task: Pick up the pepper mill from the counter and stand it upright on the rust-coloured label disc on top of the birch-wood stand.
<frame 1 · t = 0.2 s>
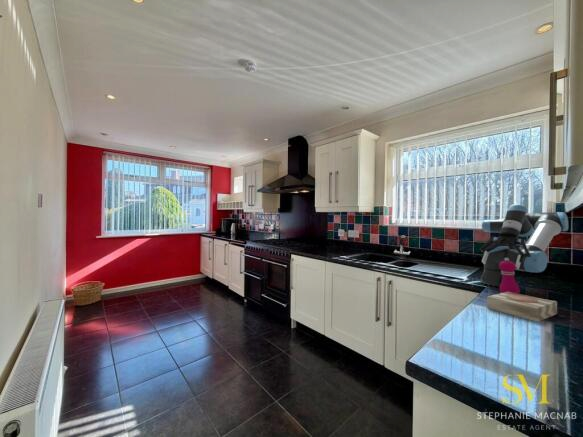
hand: (499, 265, 122), 16 cm above the counter, tool tilted 35°, fingers open, 13 cm apart
birch stand: (521, 310, 101), on the counter
pepper mill: (510, 299, 116), on the counter, touching gripper
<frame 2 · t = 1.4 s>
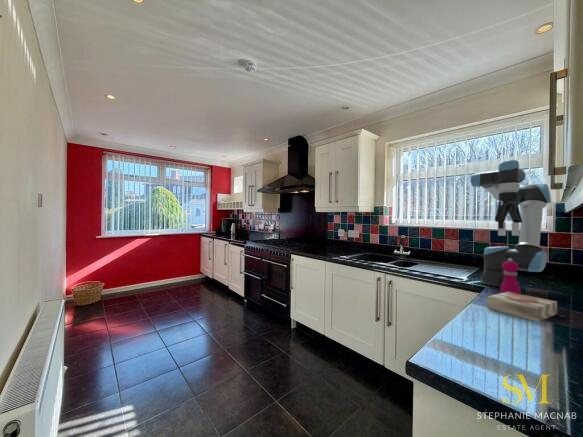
hand: (508, 235, 118), 31 cm above the counter, tool pointing down, fingers open, 13 cm apart
pepper mill: (510, 300, 116), on the counter
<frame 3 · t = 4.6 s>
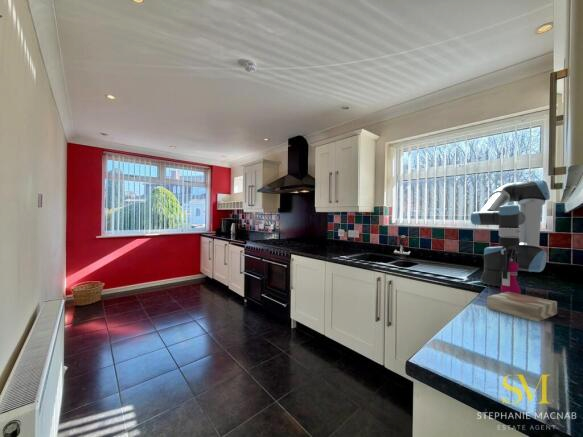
hand: (509, 284, 117), 7 cm above the counter, tool pointing down, fingers closed on pepper mill, 6 cm apart
pepper mill: (510, 300, 116), on the counter, touching gripper
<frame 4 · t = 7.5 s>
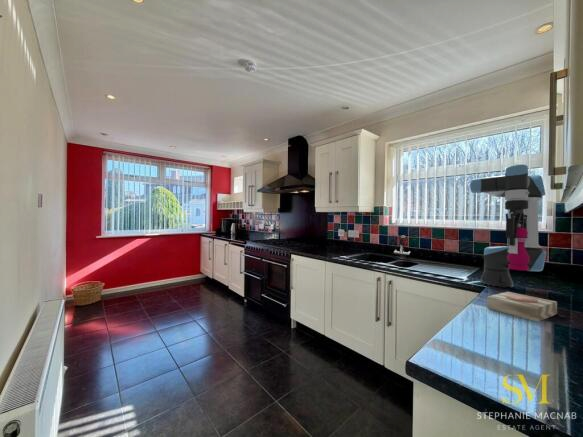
hand: (516, 253, 105), 24 cm above the counter, tool pointing down, fingers closed on pepper mill, 6 cm apart
pepper mill: (518, 269, 105), point 17 cm above the counter, touching gripper
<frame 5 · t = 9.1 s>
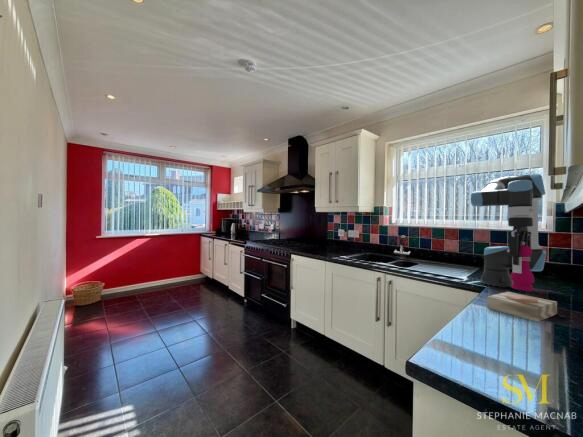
hand: (520, 272, 101), 16 cm above the counter, tool pointing down, fingers closed on pepper mill, 6 cm apart
pepper mill: (522, 289, 101), point 9 cm above the counter, touching gripper
when the fingers open (13 cm above the counter, at t = 10.4 s): pepper mill stays where it is, resting on birch stand.
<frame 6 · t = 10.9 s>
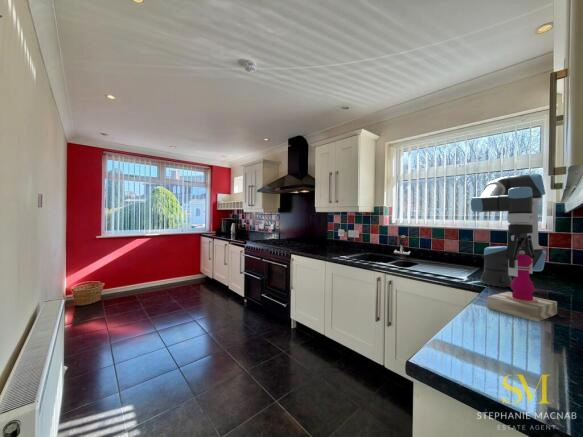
hand: (520, 274, 101), 15 cm above the counter, tool pointing down, fingers open, 13 cm apart
pepper mill: (522, 299, 101), point 5 cm above the counter, touching birch stand
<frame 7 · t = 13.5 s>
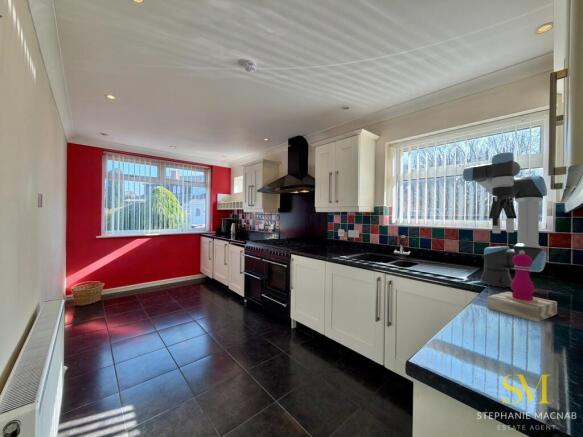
hand: (503, 232, 111), 32 cm above the counter, tool pointing down, fingers open, 13 cm apart
nothing on the counter moved.
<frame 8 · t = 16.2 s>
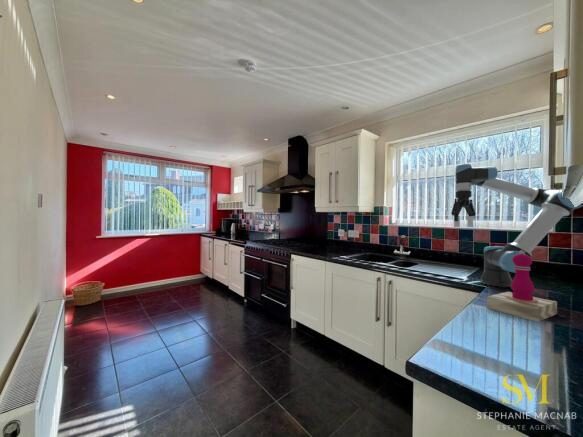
hand: (463, 227, 141), 35 cm above the counter, tool pointing down, fingers open, 13 cm apart
nothing on the counter moved.
at the end: pepper mill inside the target area on the birch stand (0.5 cm from its centre), point 5.1 cm above the birch stand's base; pepper mill tilted 0°; the gripper is holding nothing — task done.
